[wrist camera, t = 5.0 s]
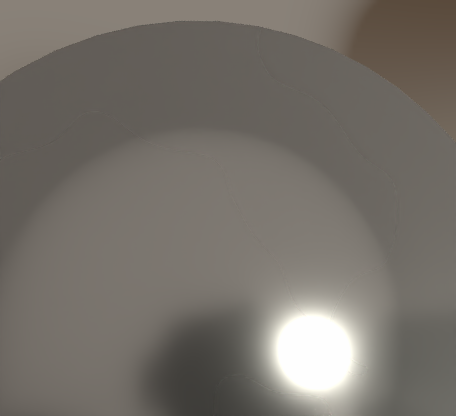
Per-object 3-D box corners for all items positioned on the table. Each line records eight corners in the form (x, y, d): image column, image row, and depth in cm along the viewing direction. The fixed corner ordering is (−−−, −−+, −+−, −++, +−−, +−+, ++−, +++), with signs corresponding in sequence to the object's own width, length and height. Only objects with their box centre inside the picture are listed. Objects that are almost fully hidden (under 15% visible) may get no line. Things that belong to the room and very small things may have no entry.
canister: (256, 289, 16) (638, 308, 3) (172, 389, 15) (272, 1027, 2) (167, 208, 16) (213, -88, 3) (76, 300, 15) (-409, 394, 2)
